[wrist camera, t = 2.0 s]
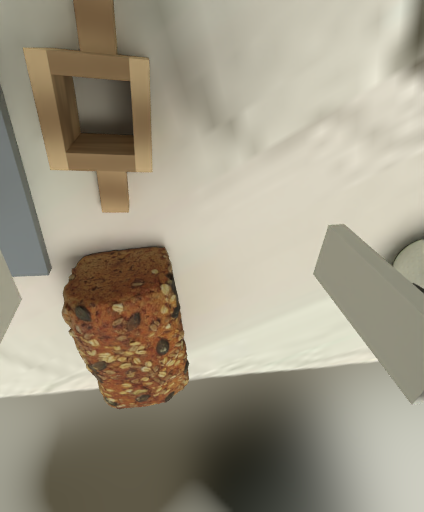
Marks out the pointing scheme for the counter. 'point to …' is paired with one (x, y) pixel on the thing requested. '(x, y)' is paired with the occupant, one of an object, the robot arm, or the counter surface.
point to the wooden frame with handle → (65, 107)
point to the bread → (128, 325)
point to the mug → (412, 263)
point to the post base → (18, 209)
